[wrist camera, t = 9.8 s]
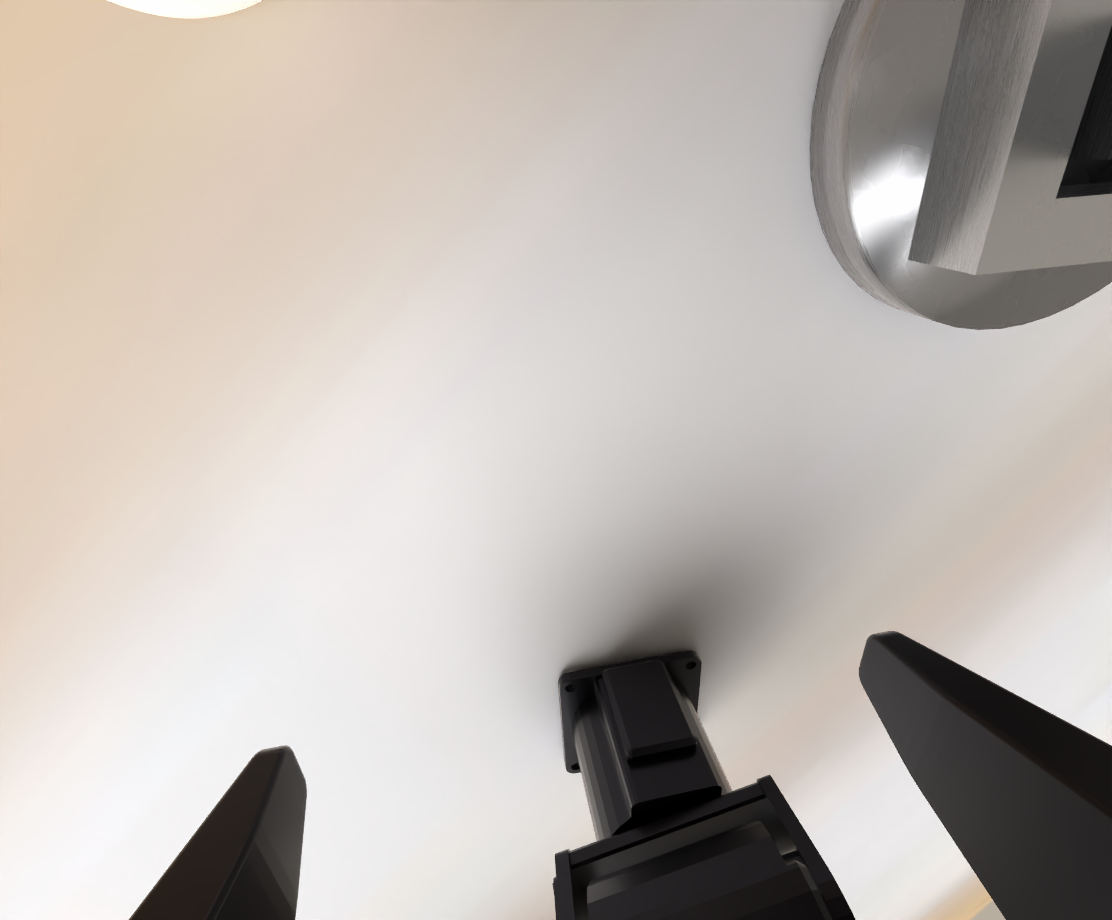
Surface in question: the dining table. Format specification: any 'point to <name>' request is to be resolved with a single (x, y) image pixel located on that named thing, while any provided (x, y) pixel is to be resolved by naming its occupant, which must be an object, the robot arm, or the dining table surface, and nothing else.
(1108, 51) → the wedge pin
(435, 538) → the dining table surface
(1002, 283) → the rosette
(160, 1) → the mug
